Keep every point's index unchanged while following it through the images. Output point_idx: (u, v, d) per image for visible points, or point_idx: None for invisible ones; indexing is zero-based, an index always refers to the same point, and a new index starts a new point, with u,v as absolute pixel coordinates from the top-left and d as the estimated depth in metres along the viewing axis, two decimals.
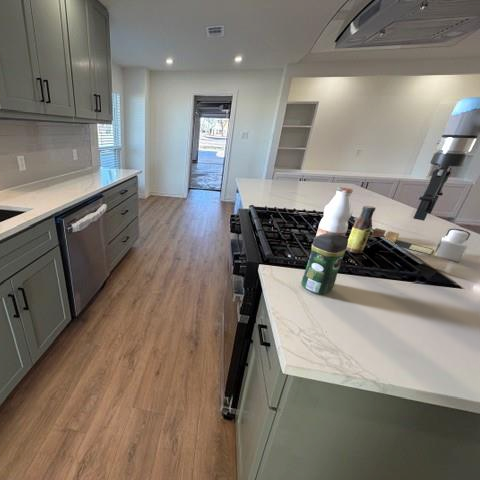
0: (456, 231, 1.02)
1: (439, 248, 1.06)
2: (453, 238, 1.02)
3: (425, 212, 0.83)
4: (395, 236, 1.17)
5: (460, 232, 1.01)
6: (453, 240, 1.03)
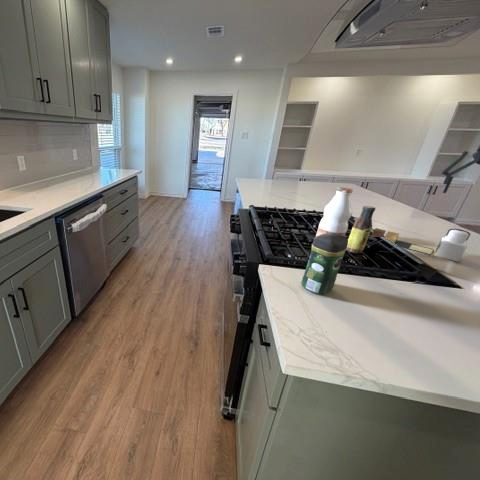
0: (456, 231, 1.02)
1: (439, 248, 1.06)
2: (454, 238, 1.02)
3: None
4: (395, 236, 1.17)
5: (460, 232, 1.01)
6: (453, 240, 1.03)
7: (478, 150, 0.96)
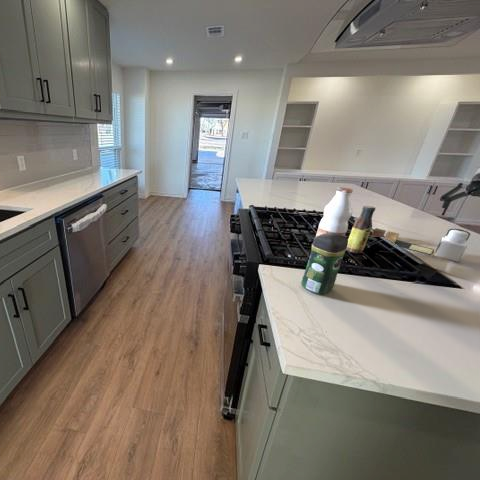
0: (456, 231, 1.02)
1: (439, 248, 1.06)
2: (453, 238, 1.02)
3: None
4: (395, 236, 1.17)
5: (460, 232, 1.01)
6: (453, 240, 1.03)
7: (471, 183, 1.11)
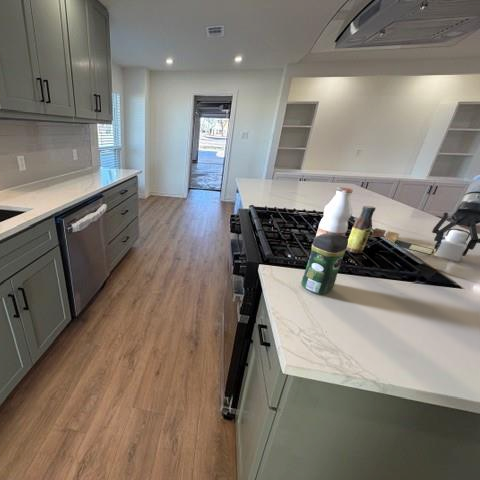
0: (456, 231, 1.02)
1: (439, 248, 1.06)
2: (453, 238, 1.02)
3: (467, 250, 1.01)
4: (395, 236, 1.17)
5: (460, 232, 1.01)
6: (453, 240, 1.03)
7: (457, 211, 1.08)
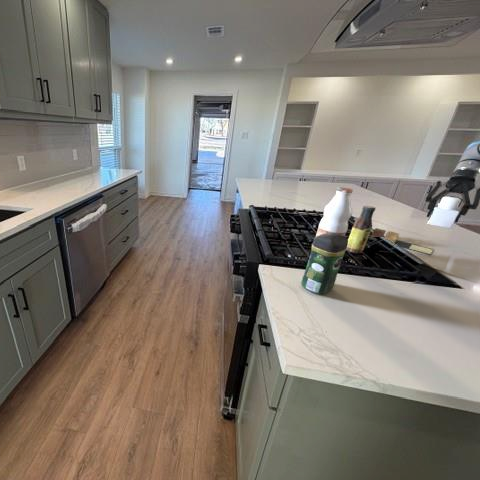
0: (448, 197, 1.01)
1: (432, 216, 1.05)
2: (446, 204, 1.02)
3: None
4: (395, 236, 1.17)
5: (452, 198, 1.01)
6: (445, 207, 1.02)
7: (450, 179, 1.07)
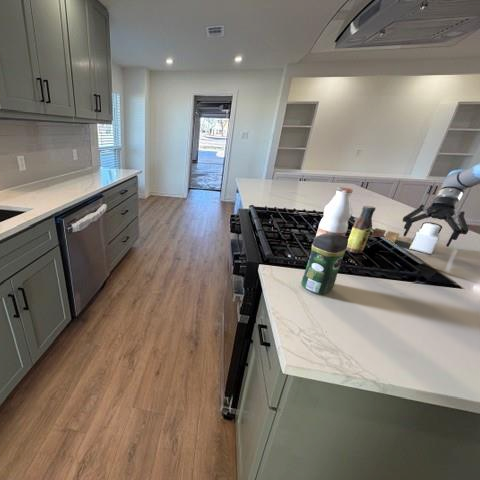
0: (429, 224, 1.07)
1: (414, 240, 1.11)
2: (427, 230, 1.08)
3: (451, 240, 1.05)
4: (395, 236, 1.17)
5: (433, 225, 1.07)
6: (426, 233, 1.08)
7: (432, 205, 1.13)
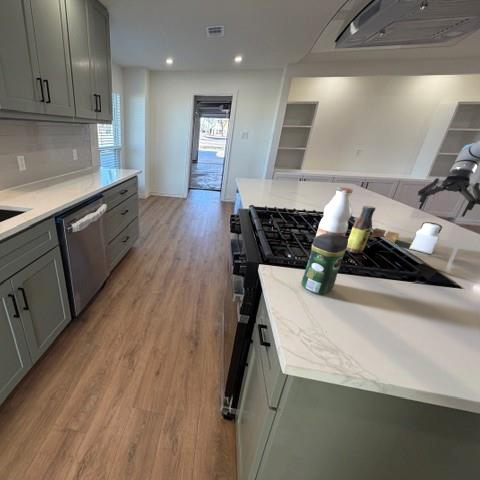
0: (429, 224, 1.07)
1: (414, 240, 1.11)
2: (427, 230, 1.08)
3: (466, 211, 1.08)
4: (395, 236, 1.17)
5: (433, 225, 1.07)
6: (426, 233, 1.08)
7: (447, 178, 1.16)
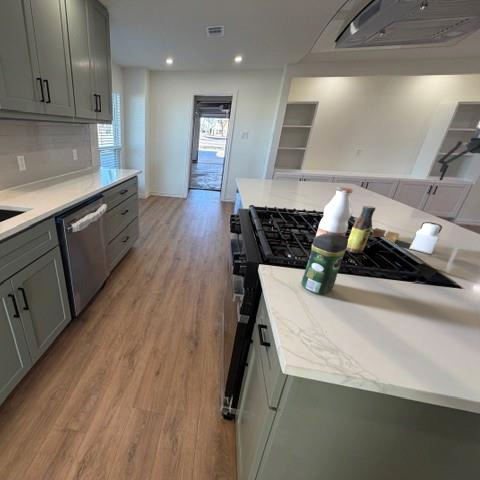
0: (429, 224, 1.07)
1: (414, 240, 1.11)
2: (427, 230, 1.08)
3: None
4: (395, 236, 1.17)
5: (433, 225, 1.07)
6: (426, 233, 1.08)
7: (471, 140, 1.05)
